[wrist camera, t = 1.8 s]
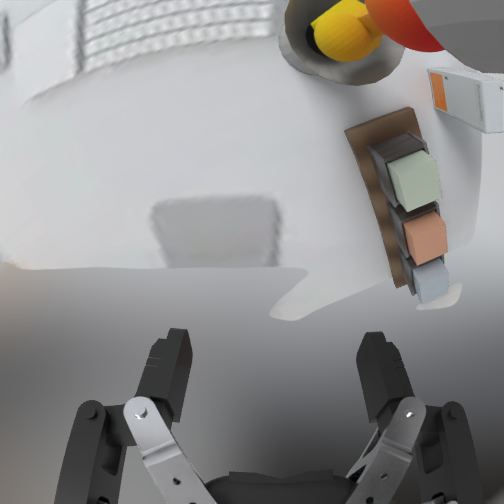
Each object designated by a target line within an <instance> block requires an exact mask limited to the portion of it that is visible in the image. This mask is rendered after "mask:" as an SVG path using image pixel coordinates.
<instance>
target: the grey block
mask: <svg viewBox="0 0 504 504" xmlns="http://www.w3.org/2000/svg"><path fill="white" fill-rule="evenodd" d="M411 274H412V280H413V286H414V288H415V291H416V293H417V295H418V297H419V299H420V302H421V304H424V303H427V302H429V301H431V300H433V299H436V298H438V297H440V296H442V295H445V294H447V293H448V271H447V269H446V267H445V266H444V264H443V262H442V261H441V259H440V258H438V259H435V260H433V261H431V262H429V263H426V264H424V265H422V266H419V267H417V268H415V269H412V270H411Z"/></svg>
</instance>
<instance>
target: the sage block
mask: <svg viewBox="0 0 504 504" xmlns="http://www.w3.org/2000/svg"><path fill="white" fill-rule="evenodd" d="M385 165H386V168H387V172H388V175H389V178H390V182H391V185H392V188H393V192H394V195H395V197H396V198H397V199H398V201H399V202H400V203H401V204H402V206H403V207H404V208H405V210H406V211H407V212H409V211H411V210H413V209H416V208H418V207H421V206H423V205H425V204H428V203H430V202H432V201H435V200H437V199H439V198H442V194H441V187H440V182H439V176H438V171H437V166H436V161H435V159H434V158H433V157H431V156H430V155H429V154H427V153H426V152H424V151H423V150H422V149H419V150H417V151H414V152H411V153H409V154H406V155H404V156H401V157H399V158H396V159H394V160H391V161H389V162H386V163H385Z"/></svg>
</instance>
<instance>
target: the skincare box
mask: <svg viewBox="0 0 504 504" xmlns="http://www.w3.org/2000/svg"><path fill="white" fill-rule="evenodd" d="M428 73H429V77H430V83H431V88H432V95H433V102H434V108H435V109H437V110H440V111H442V112H444V113H446V114H449V115H451V116H453V117H455V118H457V119H459V120H461V121H463V122H465V123H467V124H469V125H471V126H473V127H474V128H476V129H478V130H480V131H482V132H484V133H501V132H504V81H502V80H499V79H495V78H492V77H488V76H485V75H481V74H477V73H473V72H469V71H464V70H459V69H455V68H428Z"/></svg>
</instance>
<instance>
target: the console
mask: <svg viewBox="0 0 504 504" xmlns="http://www.w3.org/2000/svg"><path fill="white" fill-rule="evenodd" d="M345 134H346V136H347V138H348V141H349V143H350V146H351V148H352V150H353V153H354V155H355V158H356V161H357V163H358V166H359V168H360V171H361V174H362V176H363V179H364V182H365V185H366V188H367V190H368V193H369V196H370V199H371V202H372V205H373V208H374V211H375V215H376V218H377V221H378V224H379V228H380V231H381V234H382V238H383V241H384V245H385V249H386V252H387V256H388V260H389V264H390V268H391V272H392V276H393V280H394V284H395V286H396V288H399V287H401V286H404V285H406V284H407V285H408V286H409V289H410V291H411V293H412V295H413V296H414V295H415V294H417V293H416V291H415V288H414V286H413V280H412V274H411V270H412V269H415V268H417V267H419V266H422V265H424V264H426V263H429V262H431V261H433V260H435V259H438V258H440V259H441V261H442V262H443V264H444V254H442V255H440V256H438V257H436V258H434V259H431V260H429V261H427V262H425V263H422V264H420V265H418V266H417V264H416V263H415V261H414V259H413V257H412V255H411V254H410V252H409V250H408V248H407V246H406V241H405V237H404V232H403V228H402V223H405V222H407V221H409V220H412V219H414V218H416V217H419V216H421V215H423V214H426V213H428V212H430V211H433V210H434V211H435V212H436V213H437V214H438V215H439V217H440V211H439V204H438V203H437V202H436V201H432V202H430V203H428V204H425V205H423V206H421V207H418V208H416V209H413V210H411V211H409V212H407V211H406V210H405V208H404V207H403V206H402V204H401V203H400V202H399V201H398V199H397V198H396V197H395V195H394V192H393V188H392V185H391V182H390V178H389V175H388V172H387V168H386V165H385V163H386V162H389V161H391V160H394V159H396V158H399V157H401V156H404V155H406V154H409V153H411V152H414V151H417V150H419V149H422V150H423V151H424V152H426V153H427V154H429V152H428V148H427V144H426V142H425V141H424V140H423V139H422V136H421V132H420V129H419V125H418V122H417V118H416V115H415V112H414V109H413V108H410V107H406V108H403V109H400V110H398V111H395V112H392V113H389V114H387V115H384V116H381V117H378V118H376V119H373V120H371V121H368V122H365V123H363V124H360V125H358V126H355V127H353V128H350V129H348V130H345Z"/></svg>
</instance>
